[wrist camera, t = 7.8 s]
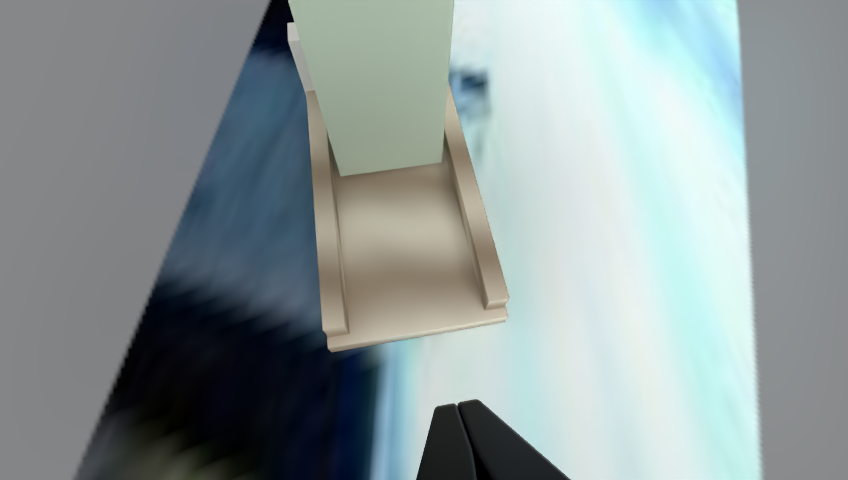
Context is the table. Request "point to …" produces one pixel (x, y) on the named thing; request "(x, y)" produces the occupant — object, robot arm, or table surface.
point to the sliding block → (379, 78)
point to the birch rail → (402, 245)
